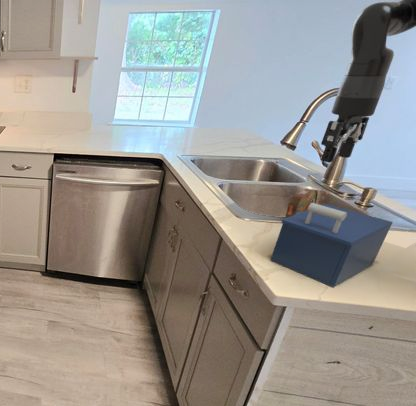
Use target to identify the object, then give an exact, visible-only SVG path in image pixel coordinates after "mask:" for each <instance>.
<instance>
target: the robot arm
mask: <svg viewBox="0 0 416 406" xmlns="http://www.w3.org/2000/svg"><path fill="white" fill-rule="evenodd" d="M415 27H416V0H398V1H379V2H376V3H372V4H370V5H368V6H366V7H365V8H364V9H363V10H362V11H360V12H359V14H358V15H357V16H356V19H355V20H354V22H353V25H352V29H351V39H350V40H351V41H350V52H351V54H350V55H351V56H350V60H349V62H348V65H347V67H346V71H345V75H344V76H343V79H342V81H341V83H340V84H339V88H338V91H337V94H336V97H335V100H334V102H333V106H332V109H331V113H332V114H333V115H335V116H336V115H337V116H338V117H337V119H336V120H330V121H328V124H327V127H326V129H325V132H324V134H323V138H322V140H321V143H320V145H321V146H324V149H323V153H322V156H321V158H320V160H321V162H324V163H333V162H334V160H335V158H336V154H337V152H338V149H339V147H340V145H341V147H340V149H339V152H338V157H339V158H345V159H348V158H351V156H352V153H353V151H354V148H355V146H356V145H355V144H357V143H358V142H359V141H362V139H363V138H364V134H365V132H366V129H367V126H368V123H369V120H370V117H372V116H373V115H374V114H375V111H376V110H377V109H376V108H377V106H378V104H379V101H380V98H381V95H382V93H383V90H384V88H385V84H386V78H387V76H388V74H389V70H390V67H391V65H392V63H393V59H394V57H395V52H394V50H393V49H391V48H388V47H387V37H392V36H398V35H399V34H403V33H405V32H407V31H409V30H412V29H414V28H415Z"/></svg>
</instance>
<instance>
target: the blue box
mask: <svg viewBox="0 0 416 406" xmlns="http://www.w3.org/2000/svg"><path fill="white" fill-rule="evenodd" d="M391 227H392V225H390V226H388V227H386V228H384V229H382V230H380V231H378V232H377V233H375V234H373V235H371V236H369V237H367V238H365V239H363V240H361V241H359V242H357V243H355V244H353V245H351V246H349V245H346V244H343V243H340V242H337V241H334V240H331V239H328V238H325V237H322V236H319V235H316V234H314V233H311V232H308V231H305V230H302V229H299V228H296V227H293V226H290V225H287V224H284V223H282V225H281V228H280V231H279V232H278V233H279V234H278V237H277V239H276V242H275V245H274V248H273V251H272V254H271V257H270V259H269V260H270V261H271V262H272V263H275V264H277V265H280V266H282V267H284V268H286V269H289V270H291V271H294V272H296V273H298V274H300V275H303V276H304V277H308V278H310V279H313V280H314V281H317V282H319V283H322V284H324V285H326V286H328V287H331V288H335V287H337V286H339V285H340V284H342V283H344V282H346V281H347V280H349V279H351V278H353V277H354V276H357V275H358V274H360V273H362V272H363V271H365V270H366V269H368V268H371V266H373V265H374V262H375V261H376V258H377V256H378V255H379V252H380V250H381V248H382V246H383V243H384V241H385V239H386V237H387V235H388V233H389V231H390V229H391Z"/></svg>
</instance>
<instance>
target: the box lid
mask: <svg viewBox="0 0 416 406" xmlns="http://www.w3.org/2000/svg"><path fill="white" fill-rule="evenodd" d="M280 223H282V224H283V223H284V224H287V225H290V226H293V227H296V228H299V229H302V230H305V231H308V232H311V233H314V234H316V235H319V236H322V237H325V238H328V239H331V240H334V241H337V242H340V243H343V244H346V245H349V246H351V245H353V244H355V243H357V242H359V241H361V240H363V239H365V238H367V237H369V236H371V235H373V234H375V233H377V232H378V231H380V230H382V229H384V228H386V227H388V226H390V225H391V226H392V225H393V221H391V220H386V219H383V218H381V217H380V218H379V217H376V216H372V215H368V214H365V213H362V212H357V211H353V210H351V209H347V208H343V207H340V206H336V205H333V204H329V203H325V202H324V203H322V204H318V203H316V204H315V203H311V204H310V205H309V207H308V210H306V211H304V212H301V213H298V214H296V215H293V216H291V217H288V218H286V217H285V218H283V219H281V222H280Z"/></svg>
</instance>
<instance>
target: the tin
mask: <svg viewBox="0 0 416 406" xmlns="http://www.w3.org/2000/svg"><path fill="white" fill-rule="evenodd" d="M318 195H319V194H318V190H316V189H309V188H304V189H302V190H301V191H299V192H297V193H295V194H294V195H293V196H292V197H291V198H290V200H289V201H288V204H287V209H286V213H285V219H286V218H288V217H291V216H293V215H296V214H298V213H301V212H304V211H306V210H308V207H309V205H310V204H311V203H315V204H317V200H318Z"/></svg>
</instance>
